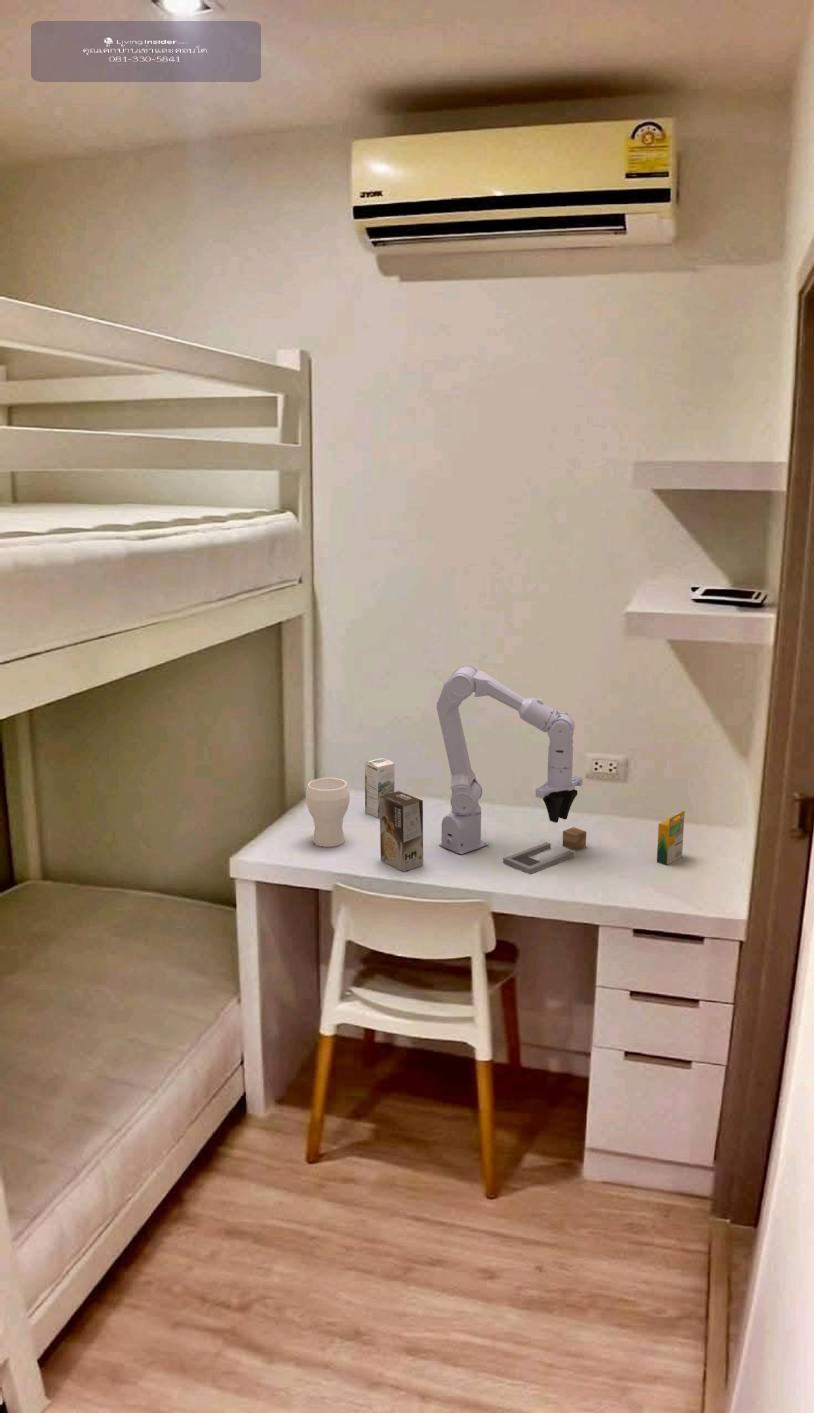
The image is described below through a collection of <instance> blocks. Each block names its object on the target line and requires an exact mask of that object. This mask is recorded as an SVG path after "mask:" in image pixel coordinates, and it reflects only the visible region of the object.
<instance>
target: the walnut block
mask: <svg viewBox="0 0 814 1413" xmlns="http://www.w3.org/2000/svg"><path fill="white" fill-rule="evenodd" d="M561 845H562V847H563V848H565V849H570V851H573V852H574V851H576V852H577V851H579V850H581V849H584V848H585V847H586V846H587V831H586V830H584V829H580V828H577V827H576V826H575V827H574V826H573V827H571V828H567V829H565V830H563V831H562V844H561Z"/></svg>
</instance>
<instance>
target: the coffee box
mask: <svg viewBox="0 0 814 1413" xmlns="http://www.w3.org/2000/svg"><path fill="white" fill-rule="evenodd" d="M379 798H380V818H379V832H380V833H379V834H380V835H379V837H380V839H379V841H380V842H379V843H380V861H381V862H383V863H386V864H387V865H390V866H391V867H394V868H396V869H397V870H400V871H402V872H408V871H410V870H413V869H416V868H418V867H421V866H424V800H423V799H420V798H417V797H414V796H412V795H410V794H407V793H405V792H402V791H400V790H398V791H394V792H393V793H390V794H386V795H385V796H381V797H379ZM407 870H408V871H407Z"/></svg>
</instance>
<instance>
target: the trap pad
mask: <svg viewBox="0 0 814 1413" xmlns="http://www.w3.org/2000/svg"><path fill="white" fill-rule="evenodd" d="M518 862H520V863H523V864H525V865H528V866H531V865H534V864H537V863H539V862H541V861H540V860H538V859H535V858H532V857H531V856H528V857H526V858H523V859H520V860H518Z"/></svg>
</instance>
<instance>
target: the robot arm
mask: <svg viewBox="0 0 814 1413" xmlns="http://www.w3.org/2000/svg"><path fill="white" fill-rule="evenodd" d="M473 693H474V698H478V697H479V698H480V697H488V696H489V697H491V698H492V699H494V700H496V701H498V702H499V703H502V704H504V705H505V706H508V707H509V708H512V709H514V710H516V711H517V712H518V714H519V718H520V719H521V720H523V721H524V722H526V723H527V724H529V725H531V726H533V727H534V728H536V729H538V730H539V731H542V732H543V733H547V736H548V738H549V745H548V751H547V752H548V755H547V780H546V782H545V783H543V784H542V785H541V786H539V787H538V788H535V797H536V798H539V799H542V800H543V802H544V804H545V808H546V810H547V815H548V819H549V821H550V822H552V823H556V824H557V823H558V822H559V819H562V820H568V816H569V813H570V810H571V807H572V804H573V802H574V800H575V798H576V797H577V796H578V790H577V789H575V788H576V786H578V787H581V786H583V777H581V776H579V775H575V776H574V775H573V762H574V761H573V760H574V746H573V744H574V739H573V738H574V737H573V736H574V734H575V733H574V730H575V726H576V725H575V721H574V719H573V717H572V716H571V715H569V714H568V713H567V712H564V711H563V712H561V710H559V709H556V710H555V709H553V708H552V707H550V706H549V705H547V704H545V703H544V700H543V699H542V698H540V697H538V698H535V697H528V698H525V697H523V696H521V695H520V694H518V693H517V692H515V691H514V690H512V689H511V688H509V687H508V686H506V685H504V683H503V684H502V683H501V682H499V681H498V680H497V679H495V678H493V677H492V676H490V675H489V674H488V673H486V672H485V671H483V670H480V669H477V668H476V667H475V666H472V665H471V664H470V665H469V664H468V665H467V664H464V665H461V666H459V667H458V668H457V669H456V670H455V671H454V672H453V673H452V675H451V676H449V678H448V679H446V681H445V682H444V684H443V687H442V689H441V692H440V694H439V697H438V700H437V702H436V711H437V715H438V720H439V725H440V729H441V732H442V738H443V743H444V746H445V752H446V756H447V761H448V765H449V770H450V774H451V775H450V776H451V778H450V779H451V782H450V784H451V785H450V789H451V797H450V807H451V811H450V813H448V814H447V815H446V816H444V817H442V821H441V842H439V844H438V845H439V846H441V847H442V848H445V849H447V850H449V851H452V852H454V853H457V854H459V855H464V854H466V853H469V852H472V851H475V850H478V849H480V848H484V847H486V846H489V843H488V842H487V841H485V840H482V807H481V806H480V803H479V801H480V799H481V798H482V795H483V788H482V786H481V784H480V782H479V781H478V780H477V777H476V772H474V770H473V769H472V766H471V761H470V755H469V752H468V747H467V743H466V738H465V733H464V728H463V724H462V723H463V722H462V719H461V714H460V711H459V707H460V705H461V704H462V702H463V701H465V700H467V699H468V698H469V697H470V696H471V695H472V694H473Z"/></svg>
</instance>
